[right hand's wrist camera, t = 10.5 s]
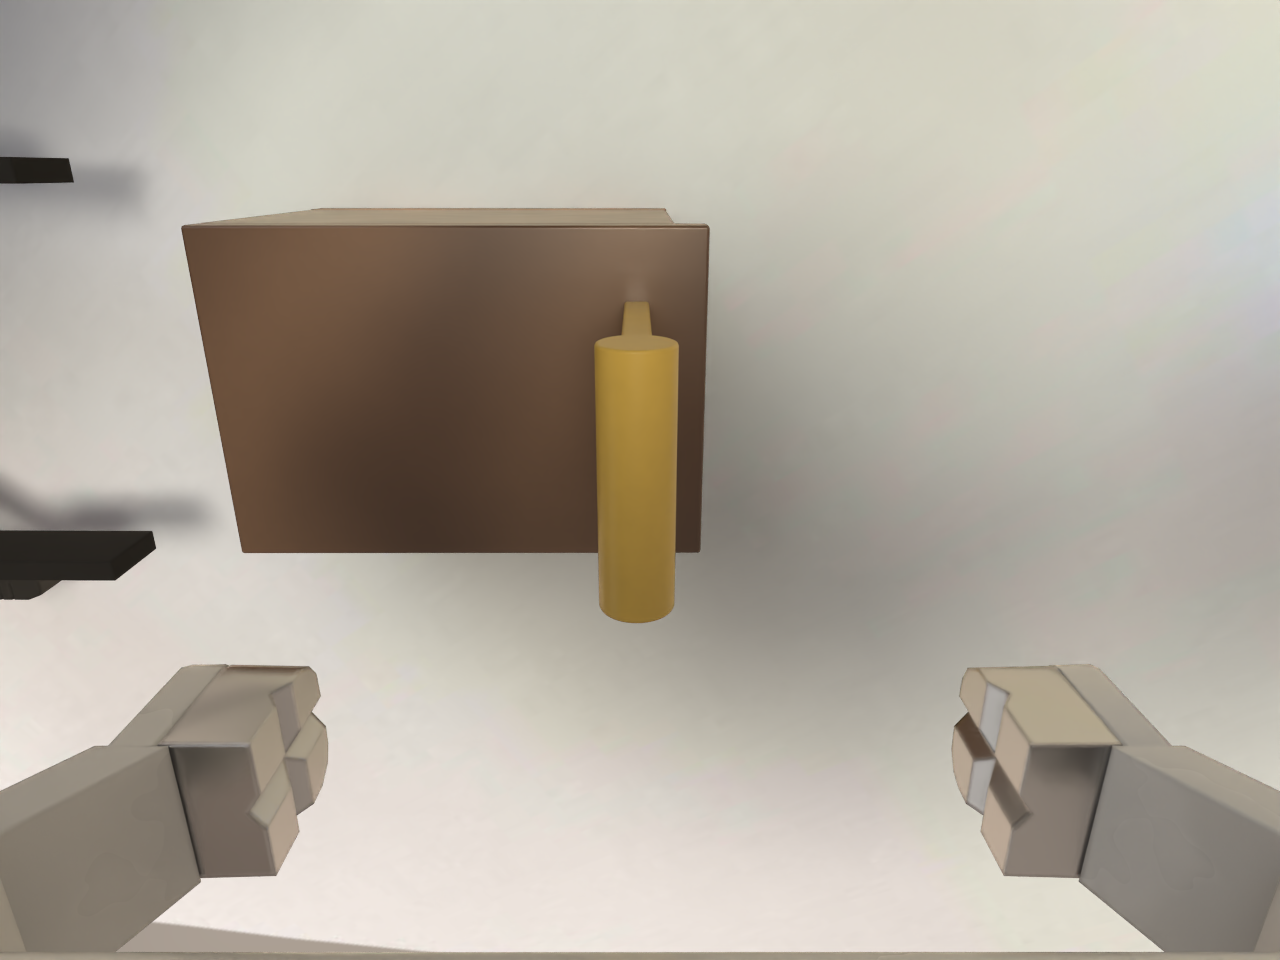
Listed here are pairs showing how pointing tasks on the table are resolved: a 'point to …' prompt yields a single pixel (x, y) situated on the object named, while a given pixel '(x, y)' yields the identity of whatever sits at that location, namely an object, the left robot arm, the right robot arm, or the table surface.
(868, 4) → the table surface
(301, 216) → the brown wooden box
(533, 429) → the door
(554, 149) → the table surface
